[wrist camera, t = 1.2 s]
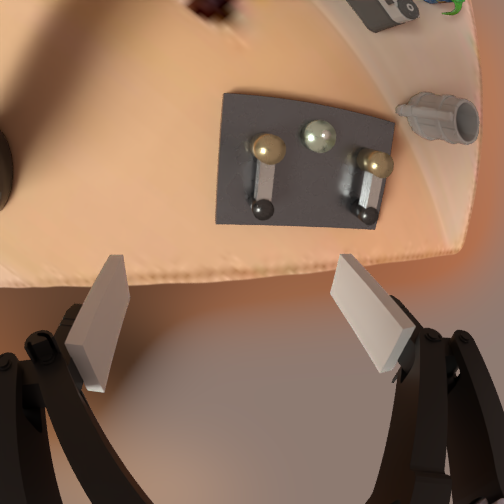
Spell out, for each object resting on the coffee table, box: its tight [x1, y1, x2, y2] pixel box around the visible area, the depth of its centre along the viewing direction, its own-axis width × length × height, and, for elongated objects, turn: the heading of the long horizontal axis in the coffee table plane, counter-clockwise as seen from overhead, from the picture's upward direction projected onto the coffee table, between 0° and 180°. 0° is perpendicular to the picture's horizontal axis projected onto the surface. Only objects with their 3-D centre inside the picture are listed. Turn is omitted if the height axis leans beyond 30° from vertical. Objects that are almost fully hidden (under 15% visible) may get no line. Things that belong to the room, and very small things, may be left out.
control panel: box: [215, 93, 395, 230], centre depth 33 cm, size 23×16×4 cm
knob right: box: [351, 148, 394, 225], centre depth 33 cm, size 3×10×4 cm, turn 175°
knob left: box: [249, 133, 286, 221], centre depth 31 cm, size 3×10×4 cm, turn 175°
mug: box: [395, 92, 479, 145], centre depth 28 cm, size 8×12×12 cm, turn 93°
